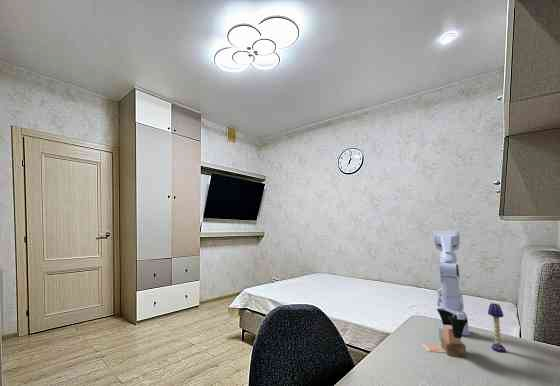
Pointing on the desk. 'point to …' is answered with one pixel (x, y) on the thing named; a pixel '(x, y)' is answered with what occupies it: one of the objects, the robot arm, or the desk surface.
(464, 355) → the walnut base block
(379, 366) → the desk surface
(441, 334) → the slate grey block
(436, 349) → the terracotta swatch tile
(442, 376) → the desk surface
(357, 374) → the desk surface
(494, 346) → the toy lamp
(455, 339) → the terracotta block
